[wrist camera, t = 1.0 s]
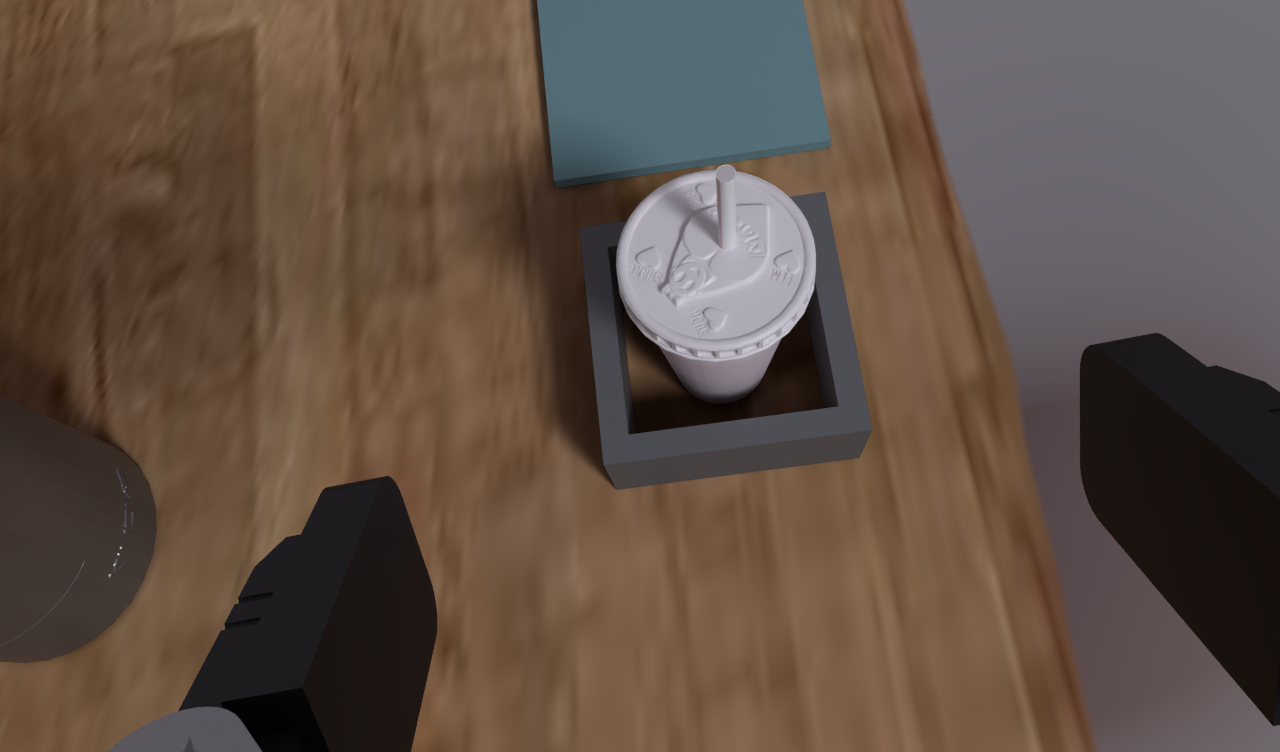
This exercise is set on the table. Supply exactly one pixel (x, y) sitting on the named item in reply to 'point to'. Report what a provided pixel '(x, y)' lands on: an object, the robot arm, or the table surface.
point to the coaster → (676, 85)
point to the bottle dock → (738, 441)
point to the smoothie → (716, 277)
